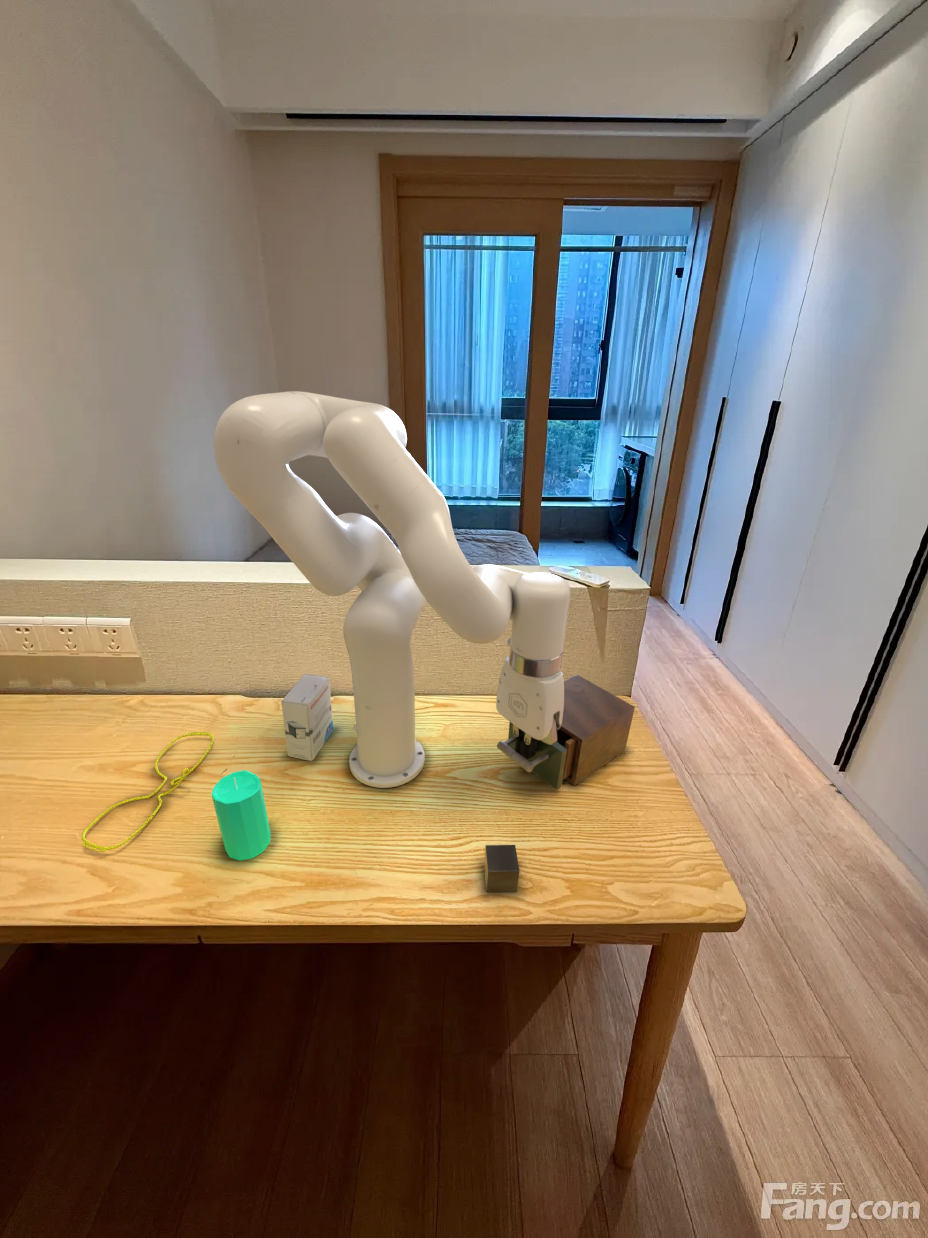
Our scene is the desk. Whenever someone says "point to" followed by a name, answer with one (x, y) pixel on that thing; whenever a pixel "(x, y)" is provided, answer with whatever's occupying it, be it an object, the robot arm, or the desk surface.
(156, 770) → the yellow rope loop
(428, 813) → the desk surface
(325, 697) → the ink box
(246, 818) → the candle
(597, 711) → the cabinet
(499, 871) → the block
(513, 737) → the drawer
